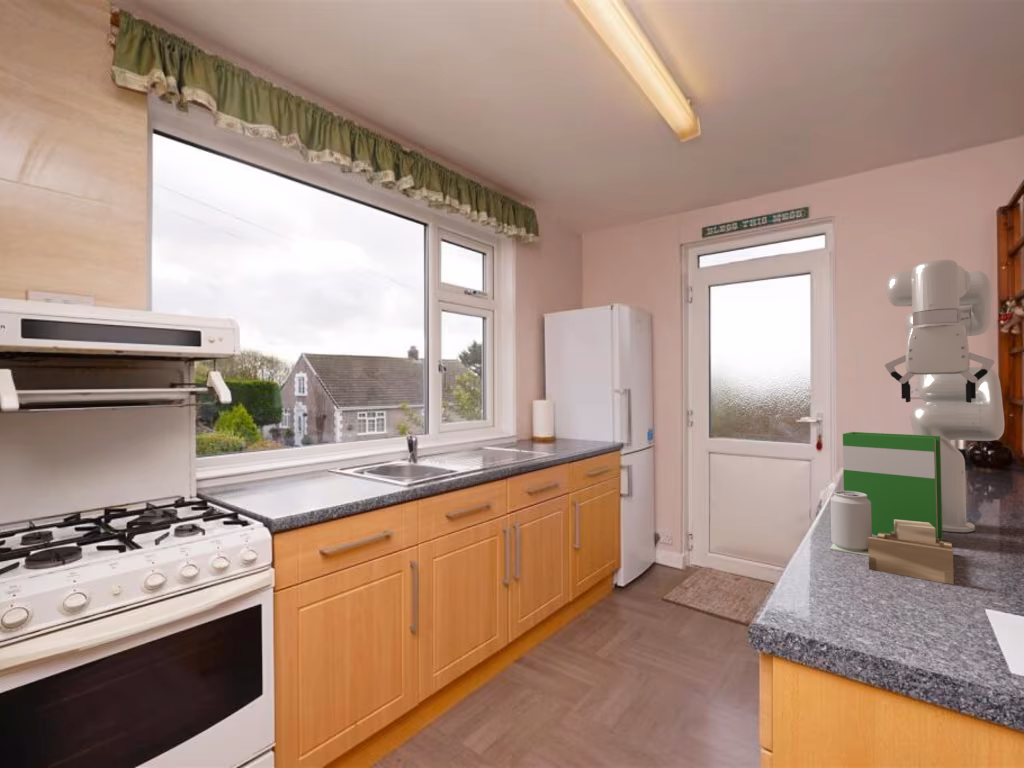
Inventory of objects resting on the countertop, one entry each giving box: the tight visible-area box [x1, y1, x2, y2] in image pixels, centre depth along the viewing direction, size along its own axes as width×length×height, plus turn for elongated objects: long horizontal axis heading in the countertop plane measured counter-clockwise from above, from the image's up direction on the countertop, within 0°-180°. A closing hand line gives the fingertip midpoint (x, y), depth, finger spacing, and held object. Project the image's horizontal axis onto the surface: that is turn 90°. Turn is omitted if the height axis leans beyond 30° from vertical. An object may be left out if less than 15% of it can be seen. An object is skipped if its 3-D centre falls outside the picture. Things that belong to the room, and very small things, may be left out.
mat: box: [829, 542, 869, 557], centre depth 109 cm, size 7×7×1 cm
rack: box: [868, 533, 955, 586], centre depth 101 cm, size 21×12×6 cm, turn 139°
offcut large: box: [889, 532, 941, 548], centre depth 104 cm, size 6×8×4 cm
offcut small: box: [894, 519, 936, 543], centre depth 104 cm, size 5×6×3 cm
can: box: [829, 490, 873, 551], centre depth 109 cm, size 8×8×12 cm
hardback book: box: [842, 431, 944, 540], centre depth 120 cm, size 18×7×24 cm, turn 41°
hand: (937, 402), depth 104 cm, fingers open, 9 cm apart
